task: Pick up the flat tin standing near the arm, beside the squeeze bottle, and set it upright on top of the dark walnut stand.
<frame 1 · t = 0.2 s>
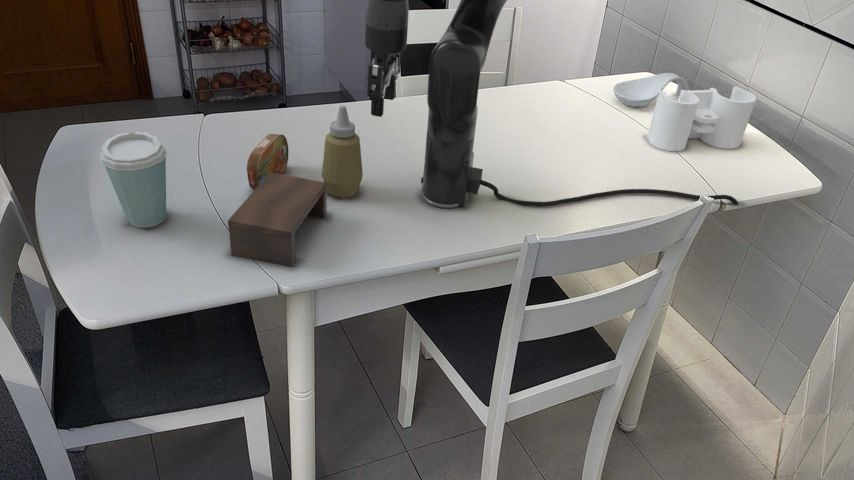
hand: (383, 106, 141), 17 cm above the table, tool pointing down, fingers open, 8 cm apart
squeeze bottle: (342, 192, 148), on the table
bracket: (695, 142, 184), on the table
tin: (269, 181, 149), on the table
disposable coffee cup: (145, 220, 134), on the table
stand: (281, 233, 134), on the table
spoon rest: (649, 102, 203), on the table
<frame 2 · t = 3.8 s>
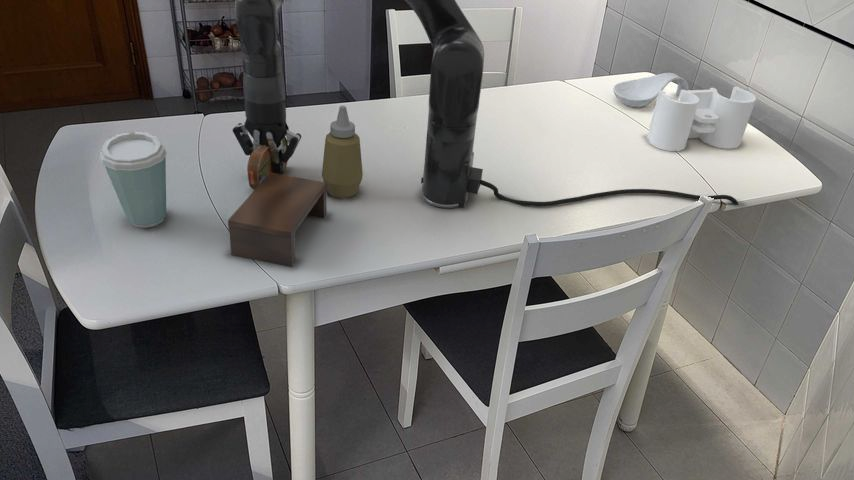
hand: (269, 175, 148), 1 cm above the table, tool pointing down, fingers closed on tin, 2 cm apart
tin: (268, 181, 149), on the table, touching gripper
everything else where it was.
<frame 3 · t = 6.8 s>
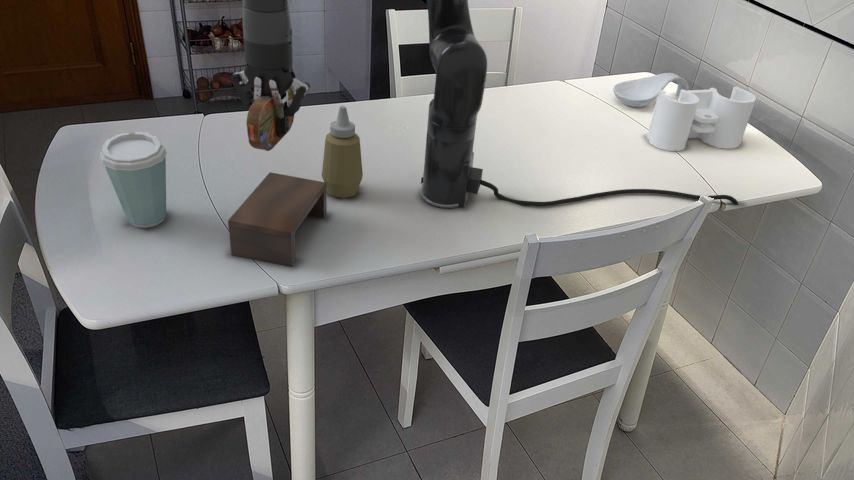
hand: (273, 133, 128), 17 cm above the table, tool pointing down, fingers closed on tin, 2 cm apart
tin: (272, 140, 129), point 16 cm above the table, touching gripper
everything else where it was.
when the fingers open (8 cm above the table, at t = 9.7 s): tin stays where it is, resting on stand.
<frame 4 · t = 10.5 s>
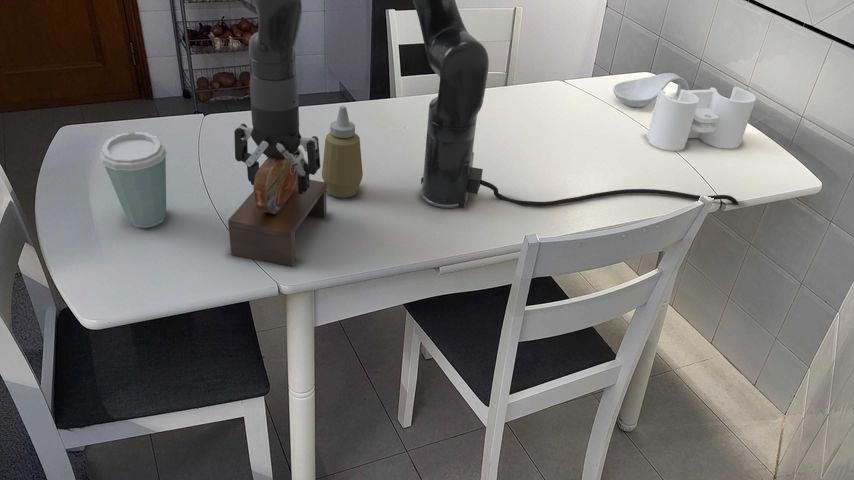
hand: (279, 187, 128), 10 cm above the table, tool pointing down, fingers open, 8 cm apart
tin: (278, 201, 130), point 7 cm above the table, touching stand
everything else where it was.
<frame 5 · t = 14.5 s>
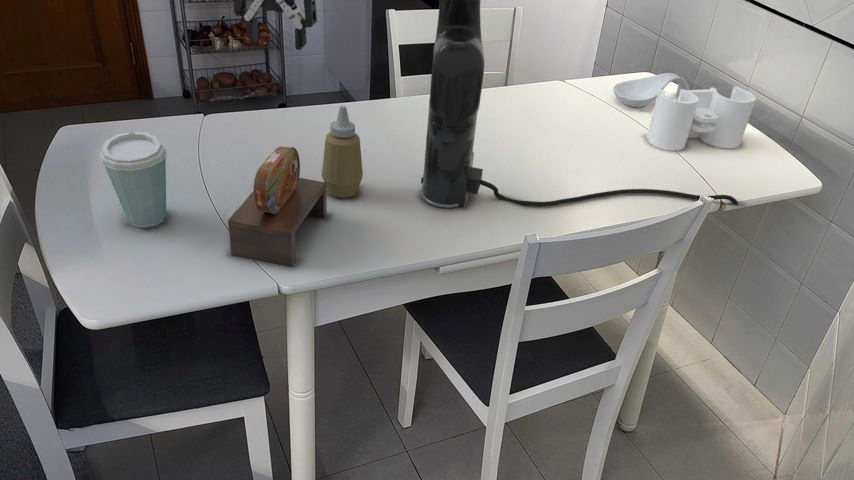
hand: (276, 44, 132), 28 cm above the table, tool pointing down, fingers open, 8 cm apart
nothing on the table moved.
at the end: tin inside the target area on the stand (0.2 cm from its centre), point 6.8 cm above the stand's base; tin tilted 0°; the gripper is holding nothing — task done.
